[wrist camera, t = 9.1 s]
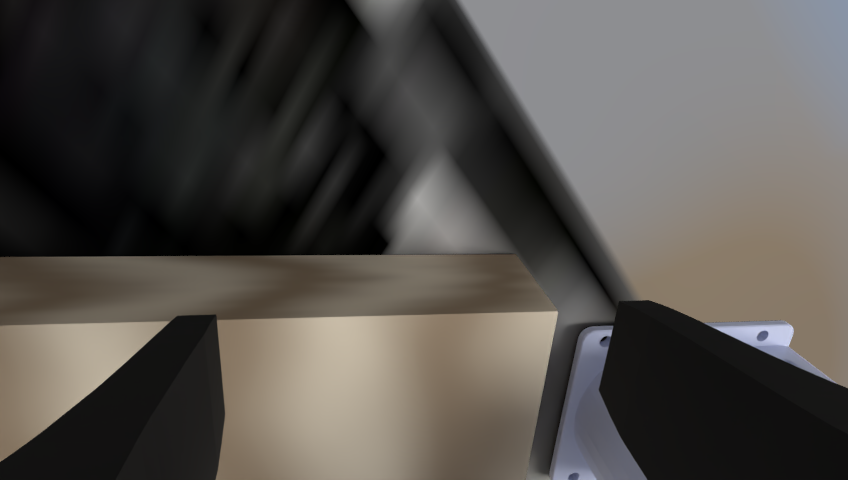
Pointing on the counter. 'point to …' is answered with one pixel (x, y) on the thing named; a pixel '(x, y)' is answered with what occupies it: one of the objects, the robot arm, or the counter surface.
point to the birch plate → (301, 356)
